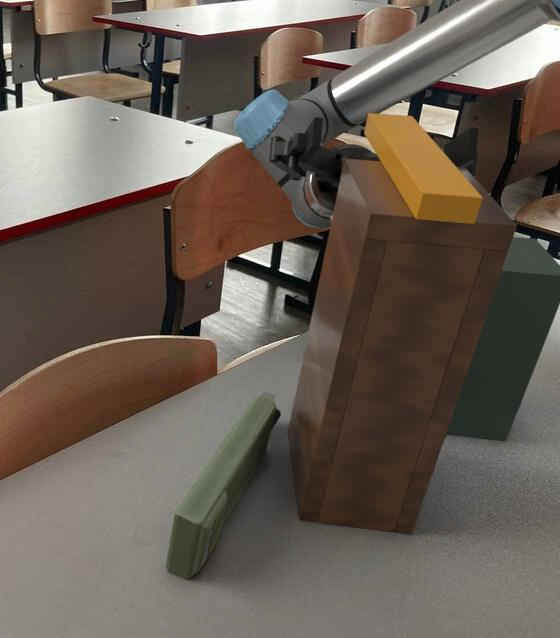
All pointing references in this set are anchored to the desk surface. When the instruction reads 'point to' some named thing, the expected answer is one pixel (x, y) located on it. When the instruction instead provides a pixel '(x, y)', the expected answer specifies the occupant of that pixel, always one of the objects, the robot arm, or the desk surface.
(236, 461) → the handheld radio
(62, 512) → the desk surface
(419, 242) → the tall wooden panelled box
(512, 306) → the pedestal
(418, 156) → the orange rectangular bar
